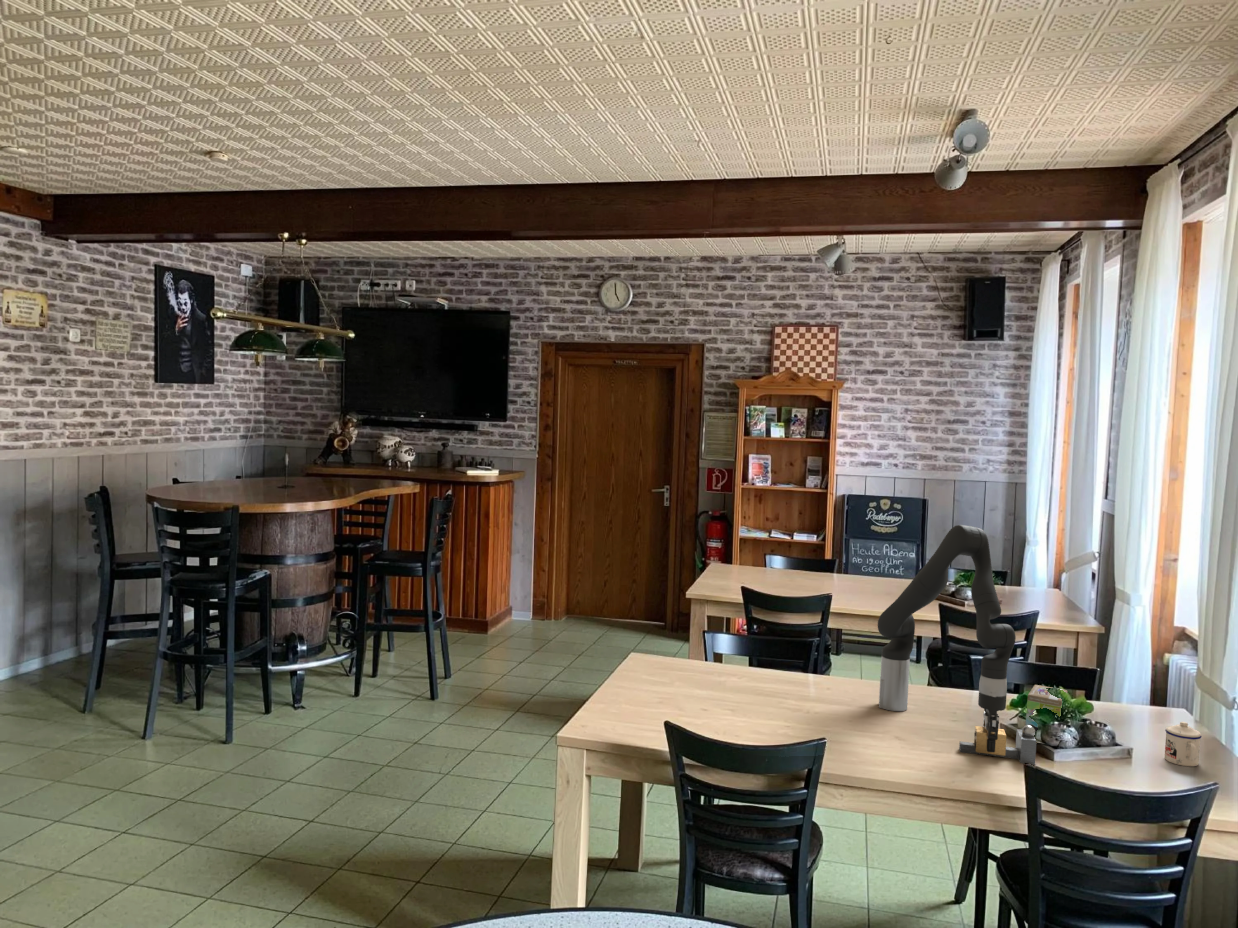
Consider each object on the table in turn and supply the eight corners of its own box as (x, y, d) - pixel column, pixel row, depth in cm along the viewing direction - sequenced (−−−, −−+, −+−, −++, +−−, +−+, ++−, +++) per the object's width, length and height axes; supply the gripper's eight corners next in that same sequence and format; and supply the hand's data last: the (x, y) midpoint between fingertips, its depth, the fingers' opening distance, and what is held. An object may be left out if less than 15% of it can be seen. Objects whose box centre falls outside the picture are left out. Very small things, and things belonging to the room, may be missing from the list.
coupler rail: (961, 755, 272) (962, 722, 272) (958, 745, 281) (959, 713, 280) (1036, 764, 267) (1038, 730, 266) (1030, 754, 276) (1032, 721, 275)
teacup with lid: (1158, 754, 279) (1160, 716, 279) (1191, 757, 278) (1193, 718, 278) (1175, 769, 268) (1178, 729, 267) (1210, 772, 266) (1213, 731, 266)
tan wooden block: (974, 751, 273) (975, 731, 272) (972, 745, 278) (973, 725, 278) (1005, 755, 270) (1006, 735, 270) (1002, 749, 276) (1003, 729, 276)
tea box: (1059, 748, 282) (1062, 700, 281) (1023, 741, 287) (1026, 693, 286) (1065, 735, 294) (1068, 688, 294) (1030, 728, 300) (1033, 683, 299)
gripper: (976, 683, 281) (973, 738, 282) (981, 696, 267) (978, 754, 268) (1003, 686, 279) (999, 741, 280) (1009, 699, 265) (1006, 758, 266)
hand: (989, 747), depth 274 cm, fingers closed on tan wooden block, 5 cm apart
